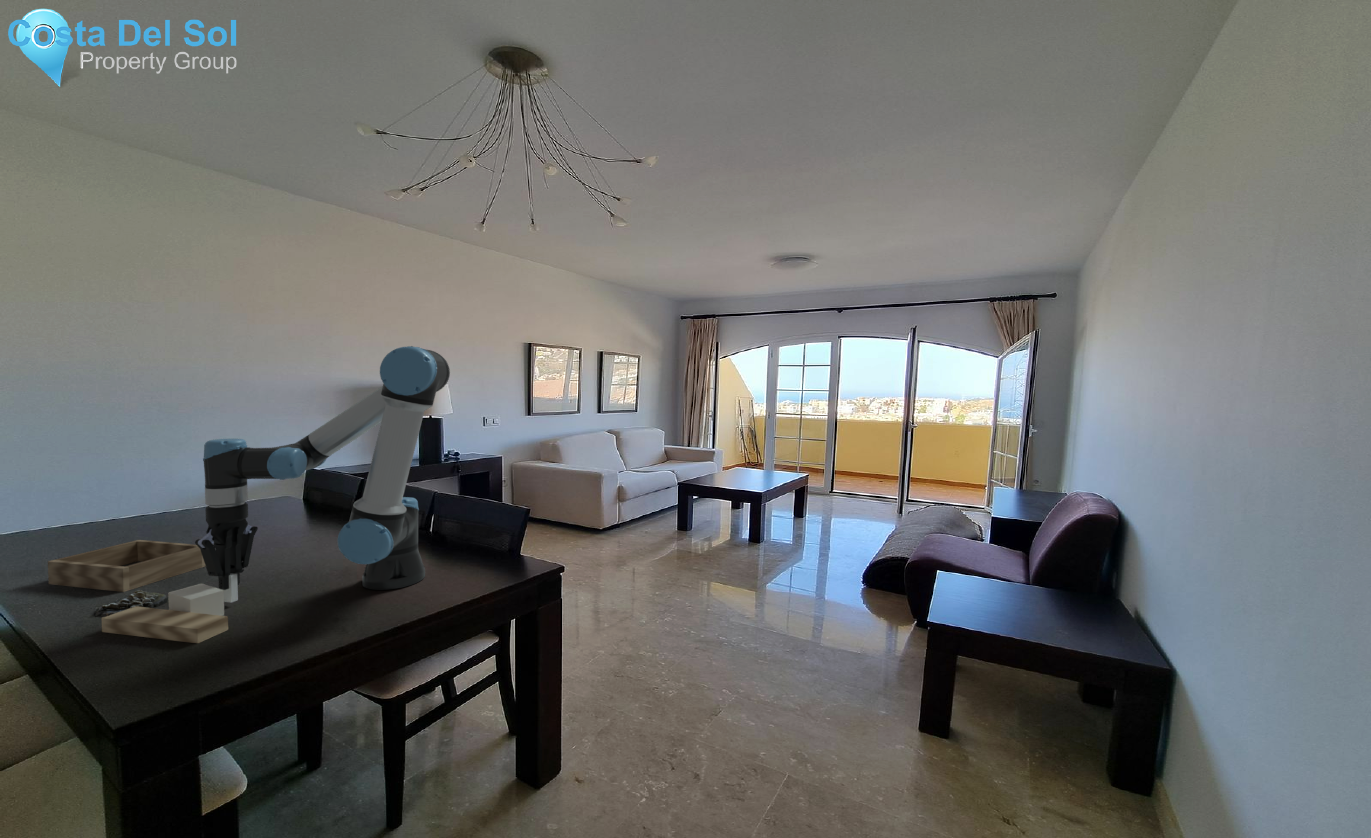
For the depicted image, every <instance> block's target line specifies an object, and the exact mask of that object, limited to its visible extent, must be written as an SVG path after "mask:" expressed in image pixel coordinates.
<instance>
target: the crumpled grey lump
mask: <svg viewBox="0 0 1371 838" xmlns="http://www.w3.org/2000/svg"><path fill="white" fill-rule="evenodd" d="M166 603H169V597H168V595H166V594H164V593H163V594H162V593H159V592H151V591H150V592H149V591H143V590H141V589H139V590H134V592H133V593H131V594H129V595H128V596H122V597H121V598H118V599H115V600H114V601H113V602H108V604H107V603H103V604H102V605H101V606H99V607H98V608H97V609H96V610H95V614H94V616H95V617H101V618H103V617H106V616H109V615H112V614H115V613H118V612H121V611H124V610H127V609H130V608H133V607H135V606H137V607H146V608H155V609H156V608H158V607H160V606H162V605H164V604H166Z"/></svg>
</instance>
